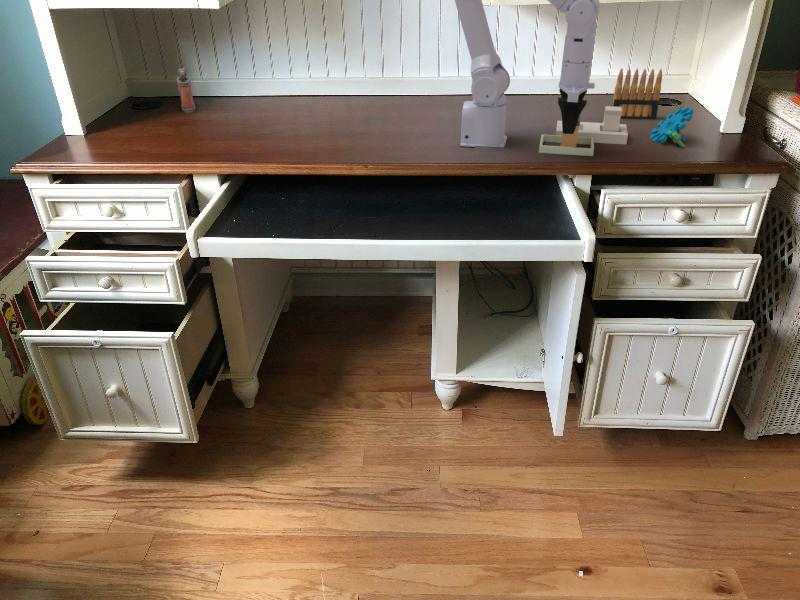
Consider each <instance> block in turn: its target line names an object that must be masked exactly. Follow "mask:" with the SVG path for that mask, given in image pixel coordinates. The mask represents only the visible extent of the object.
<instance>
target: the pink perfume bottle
mask: <svg viewBox="0 0 800 600" xmlns="http://www.w3.org/2000/svg"><path fill="white" fill-rule="evenodd" d="M187 75H188V74H187V71H186V68H178V77H177V78H176V84H177V85H178V87H177V89H178V93H179V97H180V101H181V105H180V106H181V109H182V111H183V113H193V112H195V110H196V105H195V104H196V103H194V98H193V93H192V91H193V90H192V87H191V86H192V85H191V78H190V76H187Z"/></svg>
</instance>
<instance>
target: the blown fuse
mask: <svg viewBox="0 0 800 600" xmlns="http://www.w3.org/2000/svg"><path fill="white" fill-rule="evenodd" d="M580 122H581V116H579V119H578V122H577V126H576V129H575V131H574V134H563V129H562V137H561V143H560V146H561V147H577V145H578V144H577V137H578V129H579V126H580Z"/></svg>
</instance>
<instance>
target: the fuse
mask: <svg viewBox="0 0 800 600" xmlns="http://www.w3.org/2000/svg"><path fill="white" fill-rule="evenodd" d="M621 115H622V107H620V106H619V107H614V106H612V105H608V106H607V105H606V106H604V114H603V121H602V123H603V127H602V131H607V132H618V130H619V124H621V123H620V122H621V119H620V118H621Z"/></svg>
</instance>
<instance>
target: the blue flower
mask: <svg viewBox="0 0 800 600" xmlns="http://www.w3.org/2000/svg"><path fill="white" fill-rule="evenodd" d="M694 112H695V111H694V109H693V108H690V107H689V106H685V107H683V108H681V107H679V108H677V109H676V110H675V112H674V113H672V112H671V113H668V114H667V115H666V116H665V118H666V120H665V121H663V120H660V121H659V122H657V126H658V128H656V127H655V128H653V129H652V130H651V131H650V133H651V135H650V136H649V139H650V140H651V139H652V141H653V142H654V143H660V142H661V143H664V142H667V140H668V138H670V139H672V141H673V143H674V144H676V143H677V145H679V146H680V147H686V145H685V144H684V142H683V141H687V138H686V137H685V136H684V134H683V133H682V132H681V131H682V130H684V129H685V128H686V127H687V124H686V123H685V121H686V122H688V123H689V122H691V120H692V119H693V114H694Z"/></svg>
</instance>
